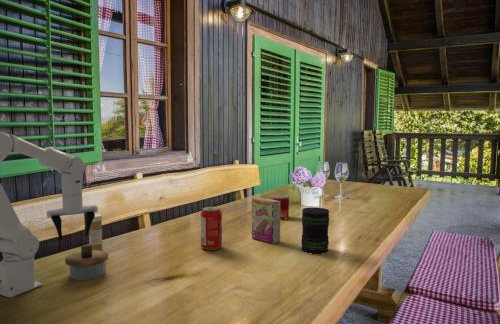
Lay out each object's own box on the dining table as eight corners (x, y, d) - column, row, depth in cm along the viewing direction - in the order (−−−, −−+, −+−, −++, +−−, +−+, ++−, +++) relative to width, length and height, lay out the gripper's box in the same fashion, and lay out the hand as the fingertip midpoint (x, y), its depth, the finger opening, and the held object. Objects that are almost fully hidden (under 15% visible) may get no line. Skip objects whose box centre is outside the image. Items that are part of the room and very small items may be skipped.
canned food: (291, 217, 195) (291, 195, 194) (283, 220, 189) (284, 198, 188) (277, 215, 199) (277, 194, 198) (269, 218, 193) (270, 196, 192)
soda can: (197, 249, 144) (196, 209, 143) (206, 243, 151) (206, 205, 150) (216, 252, 141) (216, 211, 140) (225, 246, 149) (225, 207, 147)
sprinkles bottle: (91, 250, 143) (90, 213, 142) (104, 249, 143) (103, 213, 142) (87, 254, 138) (86, 216, 137) (101, 254, 139) (99, 216, 138)
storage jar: (312, 244, 151) (312, 206, 150) (333, 250, 144) (334, 210, 143) (295, 250, 144) (296, 210, 143) (317, 256, 137) (318, 214, 136)
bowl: (86, 282, 114) (85, 267, 113) (62, 276, 118) (61, 261, 118) (112, 271, 123) (111, 257, 122) (89, 265, 127) (88, 252, 127)
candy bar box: (251, 239, 158) (251, 198, 157) (259, 236, 162) (259, 197, 160) (272, 244, 150) (273, 202, 149) (280, 242, 154) (281, 200, 153)
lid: (88, 271, 112) (87, 254, 112) (56, 266, 116) (55, 249, 116) (116, 258, 123) (115, 242, 123) (85, 253, 127) (85, 238, 127)
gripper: (48, 198, 116) (49, 243, 117) (99, 194, 124) (100, 236, 125) (45, 195, 122) (47, 238, 123) (94, 191, 130) (95, 231, 131)
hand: (73, 237), depth 125 cm, fingers open, 7 cm apart
